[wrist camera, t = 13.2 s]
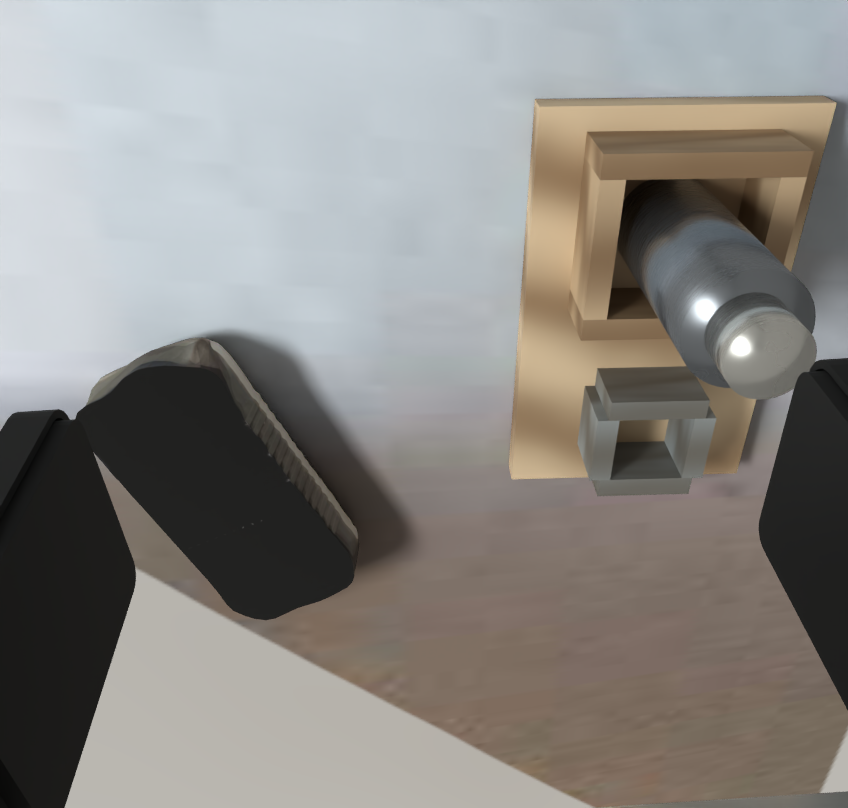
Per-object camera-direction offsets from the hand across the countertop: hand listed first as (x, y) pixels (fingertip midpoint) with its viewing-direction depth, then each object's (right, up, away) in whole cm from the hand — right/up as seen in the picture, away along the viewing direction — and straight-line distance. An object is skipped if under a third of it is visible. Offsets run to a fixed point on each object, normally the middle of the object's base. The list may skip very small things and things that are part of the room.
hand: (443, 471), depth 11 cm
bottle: (+10, +9, +24) cm, 28 cm away
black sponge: (-10, -2, +33) cm, 34 cm away
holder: (+10, +6, +28) cm, 30 cm away
